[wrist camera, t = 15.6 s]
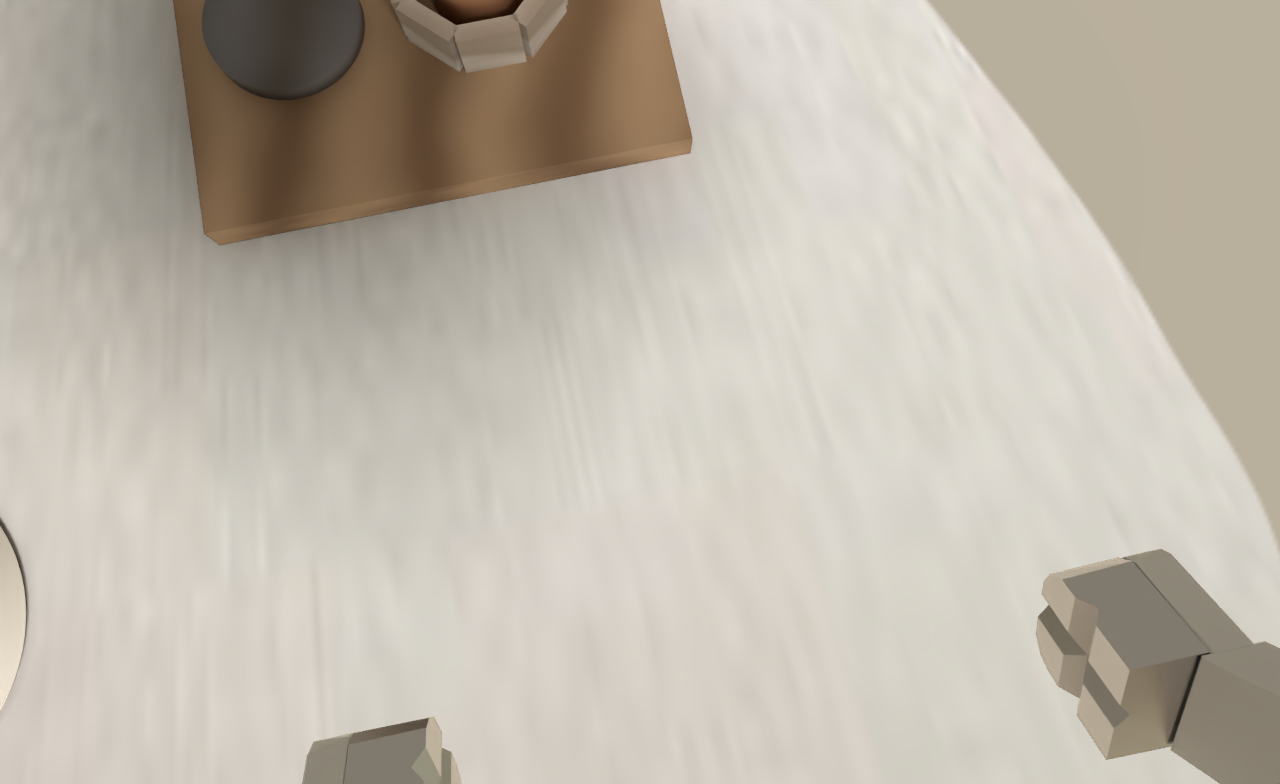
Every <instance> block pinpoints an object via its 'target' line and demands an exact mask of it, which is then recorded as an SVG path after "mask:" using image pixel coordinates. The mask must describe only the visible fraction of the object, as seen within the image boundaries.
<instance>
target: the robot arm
mask: <svg viewBox="0 0 1280 784" xmlns="http://www.w3.org/2000/svg"><path fill="white" fill-rule="evenodd" d="M1042 595H1043V597H1044V598H1045V600H1046V601H1047V603H1048V604H1049V605H1048V606H1047V608H1046V609H1045V610H1044V611H1043V612H1042V613H1041V614H1040V615H1039V616H1038V621H1037V631H1036V636H1037V640H1038V645H1039V650H1040V654H1041V656H1042V659H1043V661H1044V663H1045V665H1046V667H1047V670H1048V671H1049V673H1050V674H1051V676H1052V678H1053V679H1054V681H1055V682H1056V684H1057V686H1058V687H1060V688H1062V689H1064V690H1065V691H1067V692H1069V693H1071V694H1073V695H1074V696H1076V697H1078V698H1079V700H1078V709H1077V716H1078V718H1079V719H1080V721H1081V722H1082V724H1083V725H1084V727H1085V729H1086V730H1087V732H1088V733H1089V735H1090V736H1091V738H1092V739H1093V741H1094V742H1095V744H1096V745H1097V747H1098V748H1099V750H1100V751H1101V753H1102V754H1103V756H1104V757H1105V759H1106V760H1108V759H1113V758H1118V757H1122V756H1127V755H1132V754H1137V753H1141V752H1146V751H1151V750H1156V749H1161V748H1165V747H1170V746H1172V747H1171V751H1173V752H1174V753H1176V754H1177V755H1179V756H1180V757H1182V758H1183V759H1185V760H1186V761H1188V762H1189V763H1191V764H1192V765H1193V766H1195V767H1196V768H1198V769H1199V770H1201V771H1202V772H1204V773H1205V774H1207V775H1208V776H1210V777H1211V778H1213V779H1214V780H1215V781H1217V782H1218V783H1220V784H1280V648H1278V647H1276V646H1274V645H1271V644H1269V643H1267V642H1259V643H1254V644H1253V642H1252V641H1251V640H1250V639H1249V638H1248V637H1247V636H1246V635H1245V634H1244V633H1243V632H1242V631H1241V629H1240V628H1239V627H1238V626H1237V625H1236V624H1235V623H1234V622H1233V621H1232V620H1231V619H1230V618H1229V616H1228V615H1227V614H1226V613H1225V612H1224V611H1223V610H1222V609H1221V608H1220V607H1219V606H1218V604H1217V603H1216V602H1215V601H1214V600H1213V599H1212V598H1211V597H1210V596H1209V595H1208V594H1207V593H1206V591H1205V590H1204V589H1203V588H1202V587H1201V586H1200V585H1199V584H1198V583H1197V582H1196V581H1195V580H1194V578H1193V577H1192V576H1191V575H1190V574H1189V573H1188V572H1187V571H1186V570H1185V569H1184V568H1183V567H1182V565H1181V564H1180V563H1179V562H1178V561H1177V560H1176V559H1175V558H1174V557H1173V556H1172V555H1171V554H1170V553H1168V552H1166V551H1164V550H1162V549H1158V550H1152V551H1148V552H1144V553H1140V554H1136V555H1131V556H1127V557H1124V558H1114V559H1110V560H1106V561H1102V562H1098V563H1094V564H1090V565H1085V566H1081V567H1077V568H1073V569H1069V570H1065V571H1061V572H1057V573H1053V574H1050V575H1049V576H1048V577H1047V578H1046V579H1045V580H1044V584H1043V589H1042ZM25 627H26V602H25V592H24V585H23V580H22V575H21V572H20V568H19V565H18V561H17V559H16V556H15V553H14V551H13V549H12V546H11V544H10V542H9V540H8V538H7V537H6V535H5V533H4V531H3V530H2V528H1V527H0V710H1V708H2V706H3V704H4V703H5V701H6V698H7V696H8V694H9V692H10V690H11V687H12V684H13V682H14V679H15V676H16V673H17V670H18V667H19V663H20V659H21V655H22V650H23V644H24V638H25ZM302 784H461V779H460V775H459V771H458V768H457V764H456V762H455V759H454V757H453V755H452V753H451V752H450V751H448V750H445V749H443V748H442V731H441V729H440V727H439V725H438V723H437V722H436V720H435V718H434V717H430V718H425V719H420V720H415V721H411V722H406V723H401V724H396V725H391V726H386V727H381V728H376V729H371V730H366V731H362V732H357V733H351V734H347V735H342V736H338V737H333V738H329V739H324V740H320V741H315V742H313V744H312V747H311V749H310V751H309V753H308V755H307V759H306V765H305V771H304V777H303V783H302Z"/></svg>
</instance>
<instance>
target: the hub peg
mask: <svg viewBox="0 0 1280 784" xmlns="http://www.w3.org/2000/svg"><path fill="white" fill-rule="evenodd" d="M433 1H434V4H435V7H436V9H437V12H438V13H439V15H440V16H442V17H443V18H445V19H447V20H448V21H450V22H452V23H453V24H455V25H460V24H466V23H471V22H476V21H482V20H487V19H492V18H498V17H503V16H508V15H513V14H514V13H515V11H516V10H517V9H518V7H519V6H520V4H521V3H522V2H523V0H433Z"/></svg>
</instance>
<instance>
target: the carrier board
mask: <svg viewBox="0 0 1280 784" xmlns="http://www.w3.org/2000/svg"><path fill="white" fill-rule="evenodd" d="M173 3H174V10H175V18H176V25H177V33H178V40H179V48H180V55H181V63H182V70H183V78H184V85H185V93H186V100H187V108H188V115H189V123H190V130H191V138H192V145H193V153H194V160H195V168H196V175H197V183H198V190H199V198H200V205H201V213H202V221H203V228H204V234H205V235H207V236H208V237H209V238H211V239H212V240H214V241H215V242H216V243H218V244H219V245H222V244H228V243H233V242H238V241H243V240H248V239H253V238H258V237H263V236H268V235H274V234H279V233H284V232H289V231H294V230H299V229H304V228H309V227H314V226H320V225H325V224H330V223H335V222H340V221H345V220H350V219H355V218H360V217H366V216H371V215H376V214H381V213H386V212H391V211H396V210H401V209H406V208H412V207H417V206H422V205H427V204H432V203H437V202H442V201H447V200H452V199H458V198H463V197H468V196H473V195H478V194H483V193H488V192H493V191H498V190H504V189H509V188H514V187H519V186H524V185H529V184H534V183H539V182H544V181H550V180H555V179H560V178H565V177H570V176H575V175H580V174H585V173H590V172H595V171H601V170H606V169H611V168H616V167H621V166H626V165H631V164H636V163H641V162H647V161H652V160H657V159H662V158H667V157H672V156H677V155H682V154H687V153H690V152H691V145H692V135H691V130H690V126H689V122H688V118H687V113H686V109H685V105H684V101H683V96H682V92H681V88H680V84H679V80H678V75H677V71H676V67H675V63H674V58H673V54H672V50H671V46H670V41H669V37H668V33H667V29H666V24H665V20H664V16H663V12H662V8H661V3H660V0H523V2H522V3H521V4H520V6H519V7H518V9H517V10H516V11H515V13H514V14H513V15H508V16H503V17H498V18H492V19H487V20H482V21H476V22H471V23H466V24H460V25H455V24H453V23H452V22H450V21H448V20H447V19H445V18H443V17H442V16H440V15H439V13H438V12H437V9H436V7H435V4H434V1H433V0H173Z"/></svg>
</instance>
